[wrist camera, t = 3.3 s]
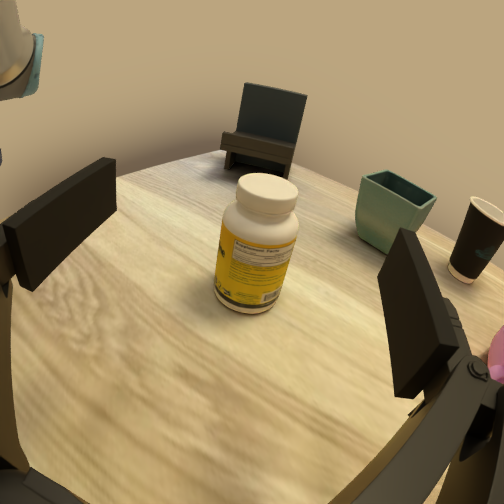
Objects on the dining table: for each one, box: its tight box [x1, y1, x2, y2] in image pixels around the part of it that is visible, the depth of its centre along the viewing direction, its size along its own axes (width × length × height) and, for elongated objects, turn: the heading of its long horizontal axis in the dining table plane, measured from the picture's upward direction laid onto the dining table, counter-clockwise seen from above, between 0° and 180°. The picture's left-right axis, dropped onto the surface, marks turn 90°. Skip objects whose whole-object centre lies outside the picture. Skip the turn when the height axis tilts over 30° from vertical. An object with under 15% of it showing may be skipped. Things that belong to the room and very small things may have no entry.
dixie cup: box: [448, 197, 504, 284], centre depth 38 cm, size 8×8×11 cm
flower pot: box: [355, 170, 437, 255], centre depth 41 cm, size 9×9×9 cm
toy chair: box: [220, 83, 307, 180], centre depth 51 cm, size 11×12×15 cm
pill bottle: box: [214, 173, 299, 314], centre depth 27 cm, size 6×6×11 cm
